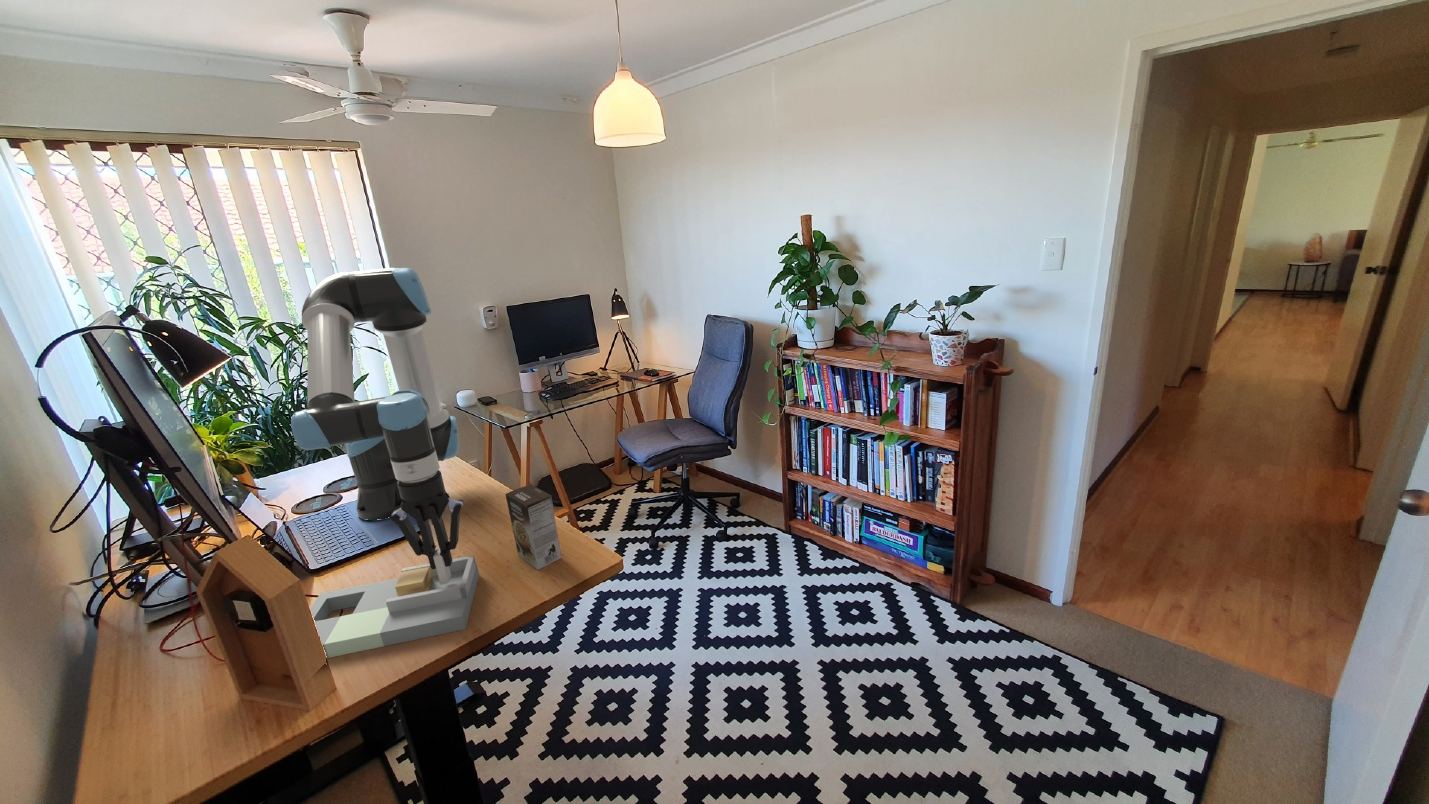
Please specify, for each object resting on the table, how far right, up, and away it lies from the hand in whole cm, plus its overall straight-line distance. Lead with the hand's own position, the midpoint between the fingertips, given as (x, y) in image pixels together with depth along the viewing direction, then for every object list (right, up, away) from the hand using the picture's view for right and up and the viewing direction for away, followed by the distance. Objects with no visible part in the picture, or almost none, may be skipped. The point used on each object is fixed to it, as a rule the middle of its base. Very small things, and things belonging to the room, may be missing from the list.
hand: (445, 579), depth 110 cm
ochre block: (-6, -2, -1) cm, 6 cm away
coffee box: (+15, +1, +13) cm, 20 cm away
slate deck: (-9, -6, -3) cm, 11 cm away
